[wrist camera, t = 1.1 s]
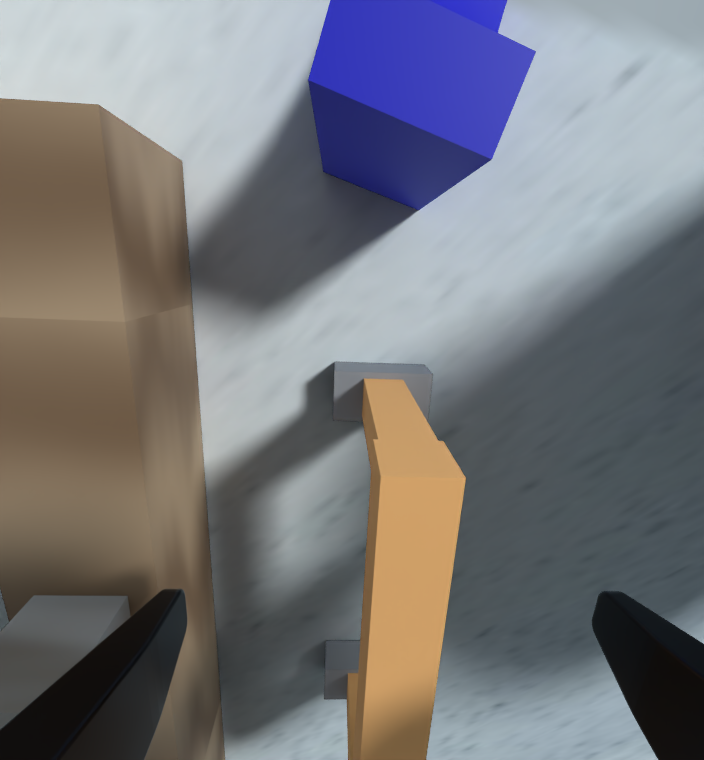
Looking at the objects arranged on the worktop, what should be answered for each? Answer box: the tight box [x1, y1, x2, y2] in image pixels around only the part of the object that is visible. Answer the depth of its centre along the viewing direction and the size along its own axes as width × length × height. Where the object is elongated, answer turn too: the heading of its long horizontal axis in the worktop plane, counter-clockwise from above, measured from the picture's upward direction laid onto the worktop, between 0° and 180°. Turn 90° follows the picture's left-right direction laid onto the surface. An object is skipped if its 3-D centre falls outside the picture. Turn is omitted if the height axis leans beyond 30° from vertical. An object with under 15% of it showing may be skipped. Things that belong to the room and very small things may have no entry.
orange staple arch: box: [324, 362, 466, 760], centre depth 11 cm, size 14×3×7 cm, turn 178°
